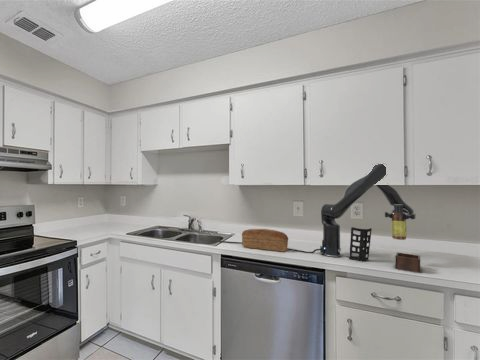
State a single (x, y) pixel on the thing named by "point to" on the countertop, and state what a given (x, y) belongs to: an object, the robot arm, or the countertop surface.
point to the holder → (362, 242)
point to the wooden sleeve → (407, 262)
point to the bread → (265, 239)
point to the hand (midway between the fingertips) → (398, 216)
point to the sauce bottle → (398, 223)
